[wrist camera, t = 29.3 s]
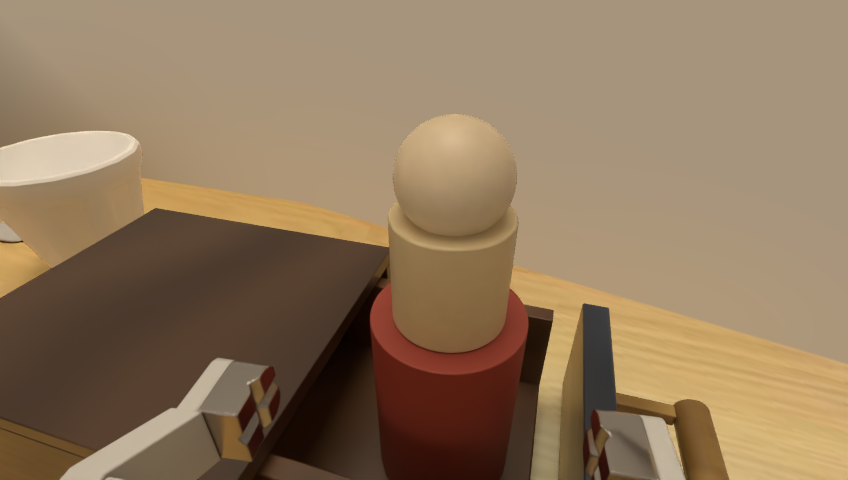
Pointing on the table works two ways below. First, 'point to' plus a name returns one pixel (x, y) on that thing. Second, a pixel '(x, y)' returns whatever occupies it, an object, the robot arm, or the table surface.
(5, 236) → the fork
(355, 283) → the cabinet
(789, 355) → the table surface
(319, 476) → the drawer
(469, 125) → the doll
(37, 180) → the cup
